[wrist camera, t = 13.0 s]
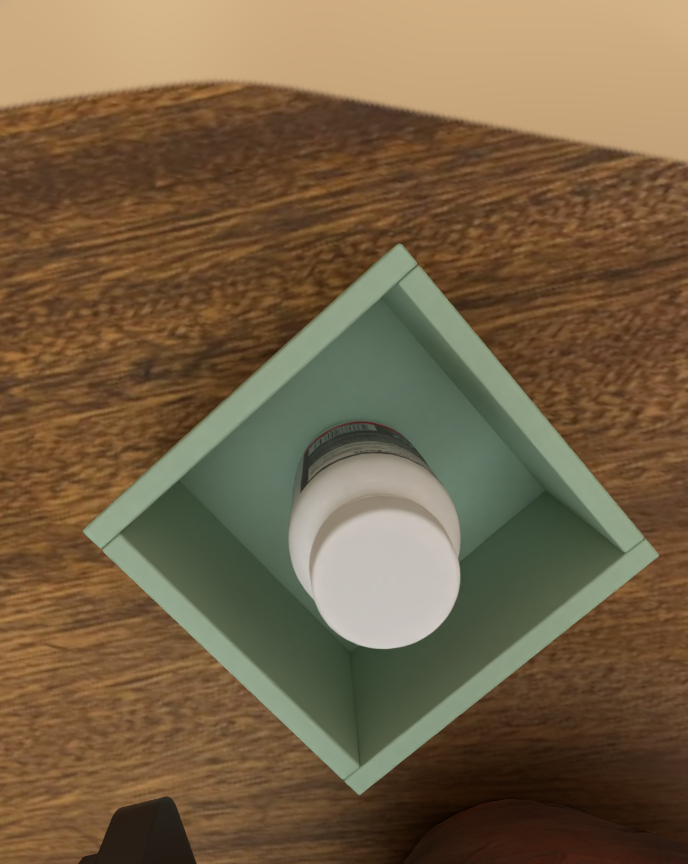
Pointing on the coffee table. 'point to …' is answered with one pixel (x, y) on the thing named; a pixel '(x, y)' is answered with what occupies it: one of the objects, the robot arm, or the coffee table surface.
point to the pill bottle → (374, 536)
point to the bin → (451, 463)
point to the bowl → (540, 838)
